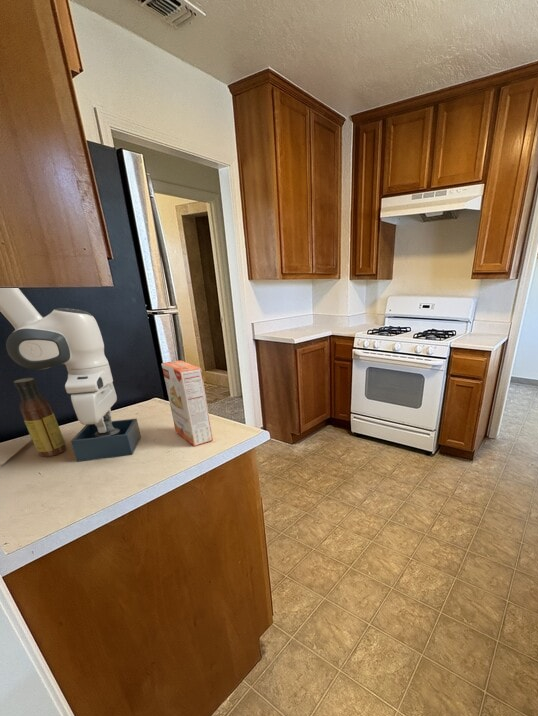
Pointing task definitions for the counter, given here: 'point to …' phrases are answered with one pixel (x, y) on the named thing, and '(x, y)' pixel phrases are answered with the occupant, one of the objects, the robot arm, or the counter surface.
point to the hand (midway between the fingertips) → (105, 428)
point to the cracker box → (188, 401)
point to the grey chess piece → (108, 428)
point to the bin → (106, 441)
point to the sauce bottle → (39, 419)
